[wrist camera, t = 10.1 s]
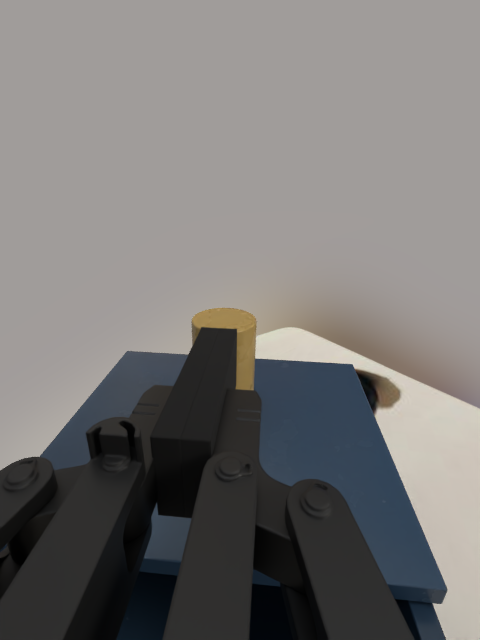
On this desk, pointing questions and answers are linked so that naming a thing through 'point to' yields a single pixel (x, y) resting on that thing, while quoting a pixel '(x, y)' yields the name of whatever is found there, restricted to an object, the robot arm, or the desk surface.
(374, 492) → the lid
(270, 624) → the bin
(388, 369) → the desk surface
